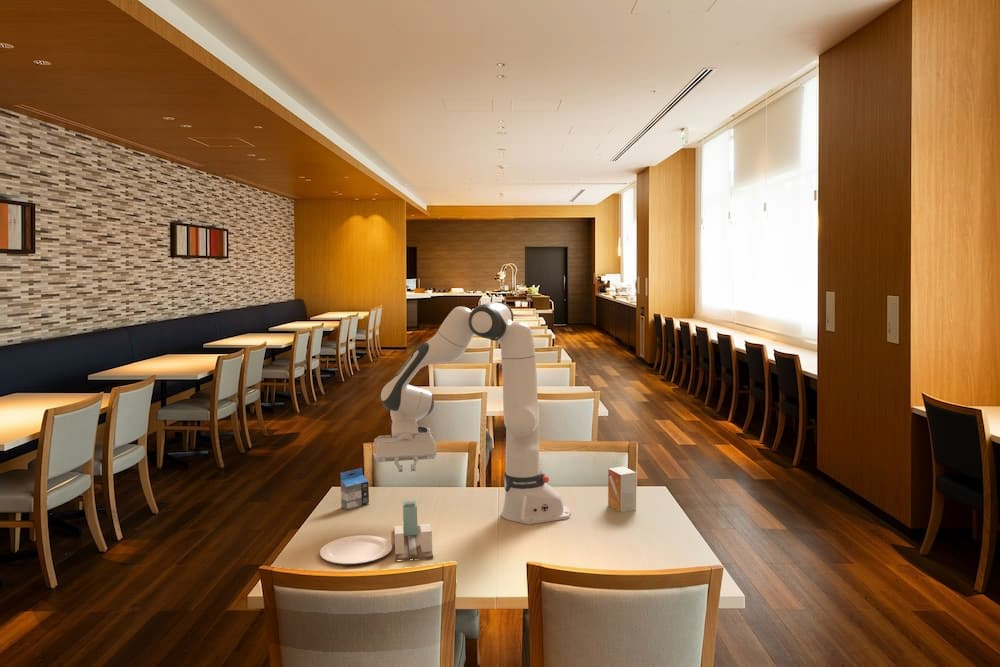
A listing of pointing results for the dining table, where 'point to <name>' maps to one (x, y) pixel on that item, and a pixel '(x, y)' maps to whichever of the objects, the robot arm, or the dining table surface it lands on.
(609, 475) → the small box
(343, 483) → the label tape cartridge
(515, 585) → the dining table surface
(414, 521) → the block
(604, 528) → the dining table surface
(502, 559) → the dining table surface
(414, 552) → the rail board
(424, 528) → the mounted modules
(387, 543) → the plate
